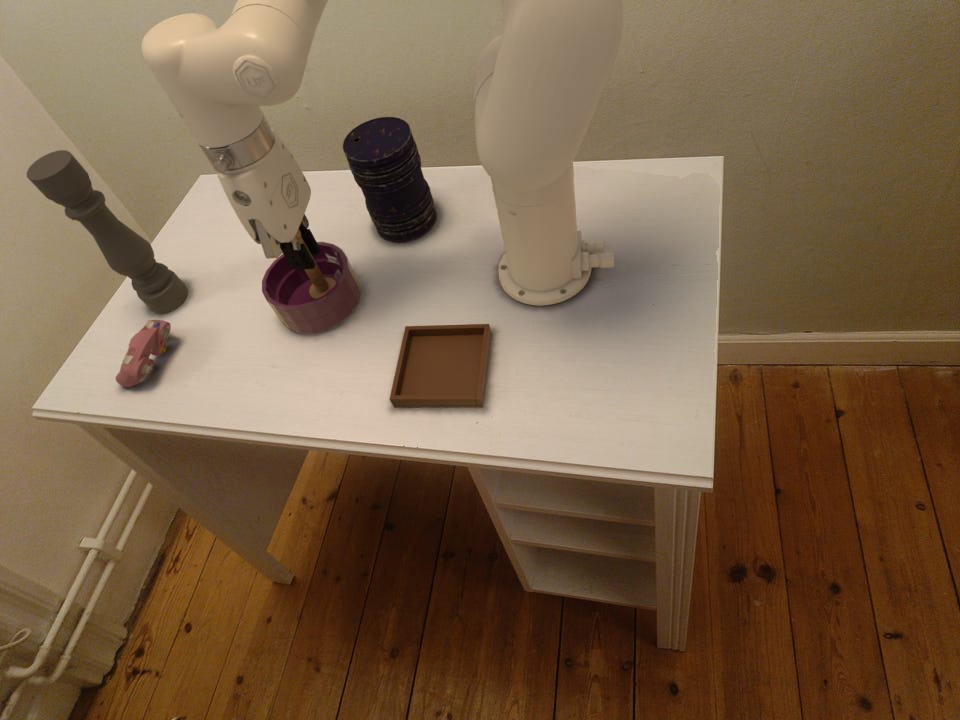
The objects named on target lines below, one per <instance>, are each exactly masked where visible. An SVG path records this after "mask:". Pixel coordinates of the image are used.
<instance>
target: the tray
mask: <svg viewBox="0 0 960 720" xmlns="http://www.w3.org/2000/svg"><path fill="white" fill-rule="evenodd" d="M492 336H493V332H492V329H491V325H490V323H467V324H466V323H465V324H463V323H462V324H438V325H437V324H435V325H430V324H429V325H406V326H405V327H404V331H403V336H402V340H401V343H400V344H401V345H400V349H399V350H400V351H399V354H398V357H397V363H396V367H395V373H394V377H393V381H392V386H391V391H390V395H389V401H390V403H391V405H392V407H393V408H397V409H399V408H400V409H403V408H404V409H405V408H409V409H410V408H411V409H413V408H415V409H418V408H419V409H420V408H423V409H424V408H426V409H428V408H429V409H433V408H436V409H437V408H439V409H441V408H444V409H445V408H446V409H447V408H452V409H453V408H456V409H457V408H459V409H460V408H462V409H463V408H466V409H467V408H469V409H471V408H482V409H483V408H484V401H485V396H486V386H487V378H488V369H489V361H490V352H491V345H492V343H491V341H492Z"/></svg>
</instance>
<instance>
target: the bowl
mask: <svg viewBox="0 0 960 720" xmlns="http://www.w3.org/2000/svg"><path fill="white" fill-rule="evenodd" d="M316 242H317V243H318V245H319V247H320V249H321V251H320V253H319V254H316V255H312V256H313V258H314V260H315V262H316V263H317V265H318V267H319V269H320V270H321V272H322V274H323V276H324V278H326V277H328V278H332V279H334V280H335V281H336V285H335V286H334V287H333V288H332V289H330V290H329V291H328V292H327V293H326V294H325V295H323V296H321V297H319V298H318V299H316V300H314V301H312V300H311V296H310V293H309V290H310V287H311V285H312V284H313V283H312V282H311V280H310V278H309V277H308V275H307V273H306V271H305V270H304V269H301V270H294V269H292V267H291V266H290V264H289V262H288V261H287V259H286V257H285V256H284V254H283V253H282V254H281V255H280V256H279V257H278V258H275V259H274V260H273V262H272V263H271V264H270V265H269V267H268V268H267V269H266V271H265V273H264V275H263V278H262V280H261V293H262V294H263V297H264V299H265V300H266V302H267V303H268V305H269V306H270V308H271V309H272V310H273V312H274V313H275V315H276V316H277V318H278V319H279V320H280V322H281V324H282V325H284V326H285V327H286V328H287V329H289V330H290V331H292V332H295V333H299V334H317V333H321V332H324V331H325V332H326V331H328V330H330V329H332V328H334V327H336V326H338V325H340V324H341V323H343V321H345V320H346V319H347V318H348V317H350V315H351V314H352V313H353V312H354V310H355V308H357V305H359V303H360V302H359V301H360V297H361V295H362V290H361V283H360V280H359V279H358V276H357V275H356V273H355V271H354V268H353V266H352V264H351V262H350V261H349V260H350V259H349V258H348V256H347V255H346V253H345V252H344V250H343V249H342V248H340V247H339V246H337V244H334V243H331V242H325V241H316Z"/></svg>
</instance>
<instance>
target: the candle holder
mask: <svg viewBox="0 0 960 720" xmlns="http://www.w3.org/2000/svg"><path fill="white" fill-rule="evenodd" d="M25 173H26V177H27V179H28V180H29V181H30V182H31V183H32V184H33V185H34V186H35V188H36V189H38V191H39V192H40V193H41V194H42V195H43V196H44V197H45V198H46V199H47V200H49V201H52V202H53V203H55V204H57V205H59V206H62V207H63V208H64V215H65V216H66V217H67V218H68V219H71V220H72V221H77V222H79V223H80V224H81V225H82V226H83V227H84V229H85V230H86V231H87V232H88V233H89V234H90V235H91V236H92V238H93V239H94V241H95V243H96V244H97V246H98V248H99V250H100V252H101V253H102V256H103V257H104V259H105V261H106V263H107V265H108V266H109V268H111V270H113V271H114V272H116V273H117V274H119V275H121V276H124V277H127V278H129V279H130V280H131V287H132V289H133V290H134V291H135V292H136V295H137V297H138V298H139V300H141V301H142V302H143V304H144V305H145V306H146V307H148V309H149V310H150V311H151V312H153V313H154V314H156V315H157V314H159V315H164V314H168V313H171V312H173V311H174V310H177V309H178V308H179V307H180V306H182V304H184V303H185V301H186V299H187V298H188V294H189V290H188V288H187V285H186V284H185V283H184V282H183V280H182V279H181V278H179V276H178V275H177V274H176V272H174V271H173V270H172V269H170V268H169V267H168V266H167V265H166V264H164V263H162V262H158V261H157V260H156V258H155V252H154V249H153V247H152V245H151V243H150V242H149V241H148V240H147V239H145V238H144V237H143V236H141V235H140V234H138V233H137V232H136V231H134V230H133V229H132V228H130V227H129V226H127V225H126V224H125V223H123V222H122V221H120V220H119V218H117V216H116V215H115V214H114V213H113V212H112V210H110V208H109V207H108V206H107V205H106V197H105V194H104V193H103V192H102V191H100V190H97V189H96V190H95V189H94V188H93V186H92V180H91V178H90V175H89V173H88V171H87V170H86V169H85V168H84V167H83V166H82V164H81V163H80V162H79V160H78V159H77V158H76V157H75V156H74V154H72V152H71V151H68V150H66V149H62V150H61V149H60V150H55V151H52V152H49V153H47V154H45V155H42V156H41V157H40V158H38V159H37V160H35V161H34V162H32V164H31V165H30V166H29V167H28V168H27V171H26V172H25Z"/></svg>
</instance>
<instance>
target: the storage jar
mask: <svg viewBox="0 0 960 720" xmlns="http://www.w3.org/2000/svg"><path fill="white" fill-rule="evenodd" d="M342 151H343V153H344V155H345V157H346V160H347V163H348V167H349V169H350V172H351V174H352V176H353V179H354V181H355V183H356V184H357V186H358V187H359V188H360V189H361V192H362V195H363V197H364V203H365V207H366V208H365V209H366V210H367V212H368V214H369V217H370V219H371V221H372V223H373V224H374V226H375V228H376V232H377V234H378V235H379V237H380V238H382V239H383V240H384V241H386V242H389V243H393V244H405V243H410V242H414V241H417V240H418V239H421V238H422V237H424V236H425V235H426V234H428V233H429V232H430V231H431V230H432V229H433V227H434V226H435V224H436V222H437V217H438V215H437V210H436V207H435V204H434V203H435V202H434V198H433V194H432V191H431V187H430V185H429V183H428V181H427V180H426V179H425V176H424V172H423V170H422V159H421V155H420V153H419V149H418V146H417V143H416V141H415V139H414V136H413V132H412V128H411V126H410V124H409V123H408V122H407V121H406V120H405V119H402V118H401V117H395V116H381V117H375V118H372V119H369V120H366V121H364V122H362V123H360V124H359V125H356V126H355V127H353V128H352V130H350V131H349V132H348V133H347V134H346V136H345V138H344V139H343V142H342Z"/></svg>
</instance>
